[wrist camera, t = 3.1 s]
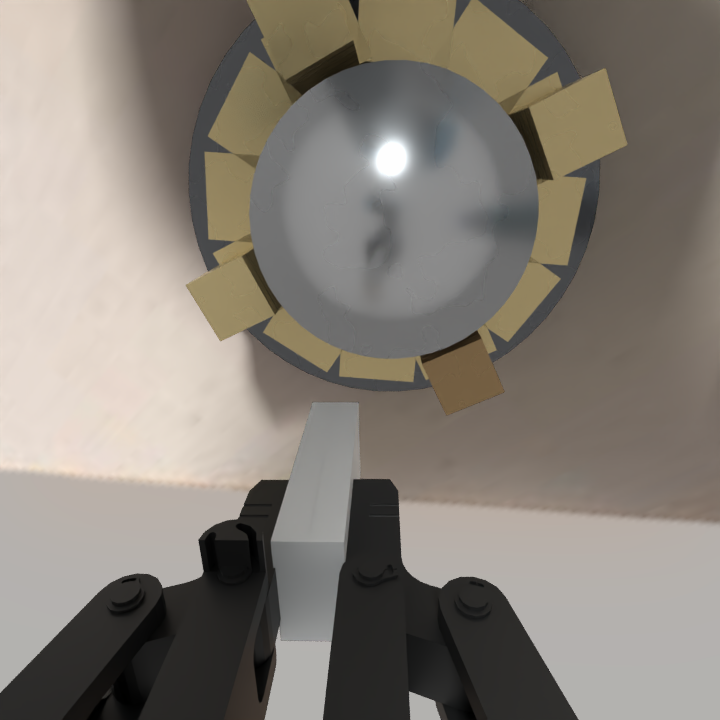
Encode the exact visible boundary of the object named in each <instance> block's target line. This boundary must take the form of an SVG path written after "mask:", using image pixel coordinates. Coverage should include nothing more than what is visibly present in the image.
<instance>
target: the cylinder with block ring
mask: <svg viewBox="0 0 720 720" xmlns="http://www.w3.org/2000/svg"><path fill="white" fill-rule="evenodd" d="M246 1H247V3H248V5H249V7H250V9H251V11H252V13H253V15H254V17H255V19H256V21H257V24H258V26H259V28H260V30H261V32H262V34H263V36H264V38H262V39H261V41H262V43H263V45H264V47H265V49H266V51H267V53H268V55H269V57H270V59H271V61H272V64H273V66H274V68H275V70H276V71H275V70H274V69H273V68H271V67H270V66H268V65H267V64H266V63H264V62H263V61H262V60H260V59H259V58H257V57H256V56H255V55H253V54H252V53H251V52H249V54H248V56H247V58H246V60H245V62H244V64H243V66H242V68H241V70H240V72H239V74H238V76H237V78H236V80H235V82H234V84H233V86H232V88H231V90H230V92H229V94H228V96H227V98H226V100H225V102H224V104H223V106H222V108H221V110H220V112H219V114H218V116H217V118H216V120H215V122H214V124H213V126H212V128H211V130H210V132H209V134H208V137H210V138H211V139H212V140H214V141H215V142H217V143H218V144H220V145H221V146H223V147H224V148H226V149H227V150H229V151H230V152H231V153H217V152H205V173H206V195H207V216H208V238H209V239H211V240H224V241H235V242H233V243H231V244H229V245H227V246H226V247H224V248H222V249H220V250H218V251H216V252H214V253H213V255H214V256H215V258H216V260H217V261H218V263H219V265H218V266H216V267H215V268H213V269H211V270H210V271H208V272H207V273H205V274H203V275H202V276H200V277H198V278H197V279H195V280H193V281H192V282H190V283H188V284H187V285H186V287H187V288H188V290H189V291H190V293H191V295H192V296H193V298H194V300H195V301H196V303H197V304H198V306H199V308H200V309H201V311H202V312H203V314H204V316H205V317H206V319H207V321H208V322H209V324H210V325H211V327H212V329H213V330H214V332H215V333H216V335H217V337H218V338H219V340H220V341H222V340H224V339H226V338H228V337H231V336H233V335H235V334H237V333H239V332H241V331H243V330H245V329H247V328H249V327H251V326H253V325H255V324H258V323H260V322H262V321H264V320H266V319H268V318H270V317H272V316H273V317H272V319H271V320H270V322H269V324H268V325H267V327H266V328H265V330H264V332H263V333H265V334H266V335H268V336H270V337H271V338H273V339H274V340H276V341H278V342H279V343H281V344H282V345H284V346H286V347H287V348H289V349H290V350H292V351H294V352H295V353H297V354H298V355H300V356H302V357H303V358H305V359H306V360H308V361H310V362H311V363H313V364H314V365H316V366H318V367H319V368H321V369H322V370H324V371H326V372H328V370H329V369H330V367H331V366H332V365H333V363H334V362H335V360H336V359H337V358H338V356H339V355H340V371H339V376H340V377H353V378H366V379H379V380H392V381H405V382H413V380H414V371H415V362H416V361H417V363H418V365H419V367H420V369H421V371H422V373H423V375H424V377H425V379H426V380H427V379H429V380H430V382H431V384H432V386H433V388H434V391H435V393H436V395H437V397H438V399H439V401H440V403H441V405H442V407H443V409H444V411H445V413H446V415H449V414H452V413H454V412H457V411H459V410H462V409H464V408H467V407H469V406H472V405H474V404H476V403H479V402H481V401H484V400H486V399H489V398H491V397H494V396H496V395H499V394H501V393H504V389H503V387H502V385H501V382H500V380H499V378H498V375H497V373H496V371H495V368H494V366H493V364H492V361H491V359H490V357H489V353H491V352H494V351H496V347H495V345H494V342H493V340H492V338H491V335H490V333H489V331H488V329H489V330H491V331H492V332H494V333H495V334H497V335H498V336H500V337H501V338H503V339H504V340H506V341H507V342H508V341H509V340H510V339H511V338H512V336H513V335H514V334H515V333H516V332H517V331H518V329H519V328H520V327H521V326H522V325H523V323H524V322H525V321H526V320H527V319H528V317H529V316H530V315H531V314H532V313H533V311H534V310H535V309H536V308H537V307H538V305H539V304H540V303H541V302H542V301H543V299H544V298H545V297H546V296H547V295H548V294H549V292H550V291H551V290H552V289H553V288H554V286H555V285H556V284H557V283H558V282H559V280H560V278H559V277H558V276H556V275H555V274H554V273H552V272H551V271H550V270H548V269H547V268H545V267H544V266H543V265H541V264H554V265H568V261H569V256H570V251H571V247H572V242H573V238H574V233H575V228H576V224H577V219H578V215H579V210H580V205H581V201H582V196H583V192H584V187H585V182H586V178H578V177H564V175H566V174H569V173H571V172H573V171H575V170H577V169H579V168H581V167H583V166H585V165H587V164H589V163H591V162H593V161H595V160H598V159H600V158H602V157H604V156H606V155H608V154H610V153H612V152H614V151H616V150H618V149H620V148H622V147H624V146H627V141H626V138H625V134H624V131H623V127H622V124H621V120H620V117H619V113H618V110H617V106H616V103H615V99H614V96H613V92H612V89H611V85H610V82H609V78H608V75H607V71H606V68H604V69H602V70H599V71H597V72H595V73H592V74H590V75H588V76H585V77H583V78H581V79H579V80H576V81H574V82H572V83H569V84H567V85H565V86H563V87H562V85H561V82H560V78H559V75H558V72H556V73H554V74H552V75H550V76H548V77H547V78H545V79H543V80H541V81H539V82H537V83H535V84H533V85H531V86H529V85H530V83H531V82H532V80H533V79H534V77H535V76H536V75H537V73H538V72H539V70H540V69H541V67H542V66H543V65H544V63H545V62H546V60H547V59H548V57H546V56H545V55H544V54H543V53H542V52H540V51H539V50H538V49H537V48H536V47H534V46H533V45H532V44H531V43H529V42H528V41H527V40H526V39H525V38H523V37H522V36H521V35H520V34H518V33H517V32H516V31H515V30H514V29H512V28H511V27H510V26H509V25H507V24H506V23H505V22H504V21H503V20H501V19H500V18H499V17H498V16H497V15H495V14H494V13H493V12H492V11H490V10H489V9H488V8H487V7H486V6H484V5H483V4H482V3H481V2H479V1H478V0H471V1H470V2H469V4H468V6H467V7H466V9H465V10H464V12H463V14H462V15H461V17H460V18H459V20H458V22H457V23H456V25H455V26H454V17H455V9H456V0H359V15H358V21H357V19H356V16H355V14H354V11H353V9H352V7H351V4H350V2H349V0H246ZM453 26H454V28H453ZM383 60H410V61H417V62H424V63H429V64H432V65H435V66H439V67H442V68H445V69H448V70H450V71H452V72H454V73H456V74H459V75H461V76H463V77H465V78H467V79H468V80H470V81H471V82H473V83H474V84H476V85H477V86H479V87H480V88H482V89H483V90H484V91H485V92H486V93H487V94H489V95H490V96H491V97H492V98H493V99H494V100H495V101H496V102H497V103H498V104H499V105H500V106H501V107H502V108H503V110H504V111H505V112H506V113H507V115H508V116H509V117H510V118H511V119H512V121H513V123H514V124H515V126H516V128H517V129H518V131H519V133H520V134H521V136H522V138H523V140H524V142H525V145H526V147H527V149H528V152H529V154H530V157H531V160H532V164H533V167H534V171H535V175H536V181H537V188H538V199H539V216H538V224H537V232H536V238H535V242H534V246H533V249H532V253H531V256H530V259H529V261H528V264H527V266H526V269H525V271H524V273H523V275H522V277H521V279H520V281H519V283H518V285H517V286H516V288H515V290H514V291H513V293H512V294H511V295H510V297H509V298H508V300H507V301H506V302H505V304H504V305H503V306H502V307H501V308H500V309H499V310H498V311H497V313H496V314H495V315H494V316H493V317H492V318H491V319H490V320H488V321H487V322H486V323H485V324H484V325H483V326H481V327H480V328H479V329H478V330H476V331H475V332H473V333H472V334H470V335H469V336H467V337H466V338H464V339H463V340H461V341H459V342H457V343H455V344H453V345H451V346H449V347H447V348H444V349H441V350H438V351H436V352H433V353H429V354H425V355H421V356H416V357H409V358H400V359H383V358H374V357H366V356H361V355H358V354H354V353H350V352H347V351H344V350H342V349H339V348H337V347H334V346H332V345H330V344H328V343H326V342H324V341H323V340H321V339H319V338H317V337H316V336H314V335H313V334H311V333H310V332H309V331H307V330H306V329H305V328H303V327H302V326H301V325H300V324H299V323H298V322H297V321H296V320H294V319H293V318H292V317H291V316H290V315H289V314H288V312H287V311H286V310H285V309H284V308H283V306H282V305H281V304H280V303H279V302H278V300H277V299H276V297H275V296H274V294H273V293H272V291H271V289H270V288H269V286H268V284H267V282H266V280H265V278H264V276H263V274H262V272H261V270H260V267H259V264H258V261H257V258H256V255H255V252H254V247H253V242H252V237H251V230H250V218H249V210H250V193H251V188H252V182H253V176H254V173H255V170H256V166H257V163H258V160H259V157H260V154H261V152H262V150H263V148H264V146H265V144H266V141H267V139H268V137H269V136H270V134H271V133H272V131H273V129H274V128H275V126H276V125H277V123H278V122H279V120H280V119H281V118H282V117H283V115H284V114H285V113H286V112H287V111H288V109H289V108H290V107H291V106H292V105H293V104H294V103H295V102H296V101H297V100H298V99H299V98H300V97H302V96H303V95H304V94H305V93H306V92H307V91H308V90H310V89H311V88H313V87H314V86H316V85H317V84H319V83H320V82H322V81H323V80H325V79H326V78H328V77H331V76H333V75H335V74H337V73H339V72H341V71H343V70H345V69H348V68H352V67H355V66H358V65H361V64H364V63H371V62H377V61H383ZM528 86H529V87H528ZM527 87H528V88H527ZM232 153H233V154H232Z"/></svg>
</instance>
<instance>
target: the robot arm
mask: <svg viewBox="0 0 720 720" xmlns="http://www.w3.org/2000/svg"><path fill="white" fill-rule="evenodd" d="M199 546H200V552H201V558H202V564H203V570H204V572H203V575H202V577H200V578H198V579H196V580H193V581H190V582H187V583H184V584H179V585H175V586H171V587H166V588H162V585H161V583H160V582H159V580H158V579H157V578H156V577H153V576H151V575H149V574H133V575H129V576H124V577H122V578H120V579H118V580H116V581H113V582H111V583H110V584H109V585H107V586H106V587H105V588H103V589H102V590H101V591H100V592H99V593H98V594H97V595H96V596H95V597H94V598H93V599H92V600H91V601H90V602H89V603H88V604H87V605H86V606H85V607H84V608H83V609H82V610H81V611H80V612H79V613H78V614H77V615H76V616H75V617H74V618H73V619H72V620H71V621H70V622H69V623H68V624H67V625H66V626H65V627H64V628H63V629H62V630H61V631H60V632H59V634H58V635H57V636H56V637H55V638H54V639H53V640H52V641H51V642H50V643H49V644H48V645H47V646H46V647H45V648H44V649H43V650H42V651H41V652H40V653H39V654H38V655H37V656H36V657H35V658H34V659H33V660H32V661H31V662H30V663H29V664H28V665H27V666H26V667H25V668H24V669H23V670H22V671H21V672H20V674H18V676H16V677H15V679H13V681H12V682H11V683H10V684H9V685H8V686H7V687H6V688H5V689H4V690H3V691H2V692H1V693H0V720H264V719H265V715H266V710H267V705H268V700H269V695H270V690H271V686H272V682H273V677H274V672H275V668H276V648H275V641H276V637H277V633H278V628H279V627H280V635H281V640H284V641H287V640H288V641H331V642H332V644H331V652H330V661H329V670H328V679H327V688H326V697H325V706H324V715H323V720H410V707H409V691H410V692H413V693H416V694H418V695H421V696H424V697H427V698H429V699H432V700H434V701H436V706H437V709H438V712H439V715H440V718H441V720H578V718H577V716H576V715H575V713H574V711H573V710H572V708H571V707H570V705H569V703H568V701H567V700H566V698H565V696H564V695H563V693H562V691H561V690H560V688H559V686H558V685H557V683H556V681H555V679H554V678H553V676H552V674H551V673H550V671H549V669H548V668H547V666H546V664H545V663H544V661H543V659H542V658H541V656H540V654H539V653H538V651H537V649H536V647H535V646H534V644H533V642H532V641H531V639H530V637H529V636H528V634H527V632H526V631H525V629H524V627H523V625H522V624H521V622H520V621H519V619H518V617H517V615H516V614H515V612H514V610H513V609H512V607H511V605H510V604H509V602H508V600H507V599H506V597H505V596H504V595H503V594H502V592H501V591H500V590H499V589H498V588H497V587H496V586H494V585H493V584H491V583H489V582H487V581H486V580H482V579H479V578H475V577H459V578H456V579H453V580H451V581H449V582H448V583H447V584H446V585H445V586H444V587H442V589H441V588H438V587H434V586H430V585H428V584H425V583H423V582H420V581H419V580H417V579H416V578H414V577H412V576H411V575H410V574H409V573H408V572H407V570H406V569H405V567H404V565H403V563H402V558H401V543H400V521H399V500H398V490H397V489H396V487H395V486H394V484H393V483H392V482H391V480H390V479H360V437H359V402H313V403H312V406H311V410H310V413H309V416H308V419H307V423H306V426H305V429H304V433H303V436H302V439H301V443H300V446H299V449H298V452H297V456H296V459H295V462H294V466H293V469H292V472H291V476H290V479H289V480H261V481H260V482H259V483H258V484H257V485H256V486H255V487H254V488H252V489H251V490H250V491H249V494H248V496H247V498H246V501H245V503H244V507H243V508H242V510H241V513H240V517H239V518H238V519H237V520H228V521H225V522H222V523H219V524H216V525H214V526H213V527H211V528H210V529H208V530H207V531H205V533H203V535H202V536H201V537H200V539H199Z"/></svg>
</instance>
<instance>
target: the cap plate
mask: <svg viewBox="0 0 720 720" xmlns="http://www.w3.org/2000/svg"><path fill="white" fill-rule="evenodd" d="M470 1H471V0H456V9H455V17H454V26H455V25H456V23H457V22H458V20H459V18H460V17H461V15H462V14H463V12H464V10H465V9H466V7H467V6H468V4H469V2H470ZM478 1H479V2H481V3H482V4H483V5H484V6H486V7H487V8H488V9H489V10H490V11H492V12H493V13H494V14H495V15H497V16H498V17H499V18H500V19H501V20H503V21H504V22H505V23H506V24H507V25H509V26H510V27H511V28H512V29H514V30H515V31H516V32H517V33H518V34H520V35H521V36H522V37H523V38H525V39H526V40H527V41H528V42H529V43H531V44H532V45H533V46H534V47H536V48H537V49H538V50H539V51H540V52H542V53H543V54H544V55H545V56H546V57H548V59H547V60H546V62H545V63H544V65H543V66H542V67H541V69H540V70H539V72H538V73H537V75H536V76H535V77H534V79H533V80H532V82H531V83H530V85H529V86H531V85H533V84H535V83H537V82H539V81H541V80H543V79H545V78H547V77H548V76H550V75H552V74H554V73H556V72H558V75H559V78H560V82H561V85H562V87H563V86H565V85H567V84H569V83H572V82H574V81H576V80H579V79H580V77H579V75H578V73H577V71H576V69H575V68H574V66H573V64H572V62H571V60H570V58H569V57H568V55H567V53H566V51H565V50H564V48H563V47H562V46H561V44H560V43H559V42H558V40H557V39H556V38H555V36H554V35H553V34H552V32H551V31H550V30H549V29H548V27H547V26H546V25H545V24H544V23H543V22H542V21H541V20H540V19H539V18H538V17H537V16H536V15H535V14H534V13H533V12H532V11H531V10H530V9H529V8H528V7H527V6H526V5H525V4H523V3H522V2H520V1H519V0H478ZM349 2H350V4H351V7H352V9H353V11H354V14H355V16H356V19H357V21H358V15H359V0H349ZM454 26H453V28H454ZM262 38H264V36H263V34H262V32H261V30H260V28H259V26H258V24H257V21H256V19H255V20H254V21H253V22H252V23H251V24H250V25H249V26H248V27H247V28H246V29H245V30H244V31H243V33H242V34H241V35H240V36H239V38H238V39H237V40H236V42H235V43H234V44H233V46H232V47H231V48H230V50H229V51H228V52H227V53H226V55H225V57H224V59H223V60H222V62H221V64H220V66H219V67H218V69H217V71H216V73H215V74H214V76H213V78H212V80H211V82H210V84H209V87H208V89H207V92H206V94H205V97H204V99H203V102H202V104H201V107H200V110H199V114H198V118H197V122H196V125H195V129H194V133H193V138H192V145H191V153H190V161H189V197H190V206H191V214H192V221H193V225H194V229H195V233H196V238H197V242H198V246H199V248H200V251H201V254H202V256H203V259H204V262H205V264H206V267H207V270H208V271H210V270H211V269H213V268H215V267H216V266H218V265H219V263H218V261H217V260H216V258H215V256H214V255H213V253H214V252H216V251H218V250H220V249H222V248H224V247H226V246H227V245H229V244H231V243H233V242H235V241H224V240H211V239H209V238H208V216H207V195H206V173H205V152H217V153H231V152H230V151H229V150H227V149H226V148H224V147H223V146H221V145H220V144H218V143H217V142H215V141H214V140H212V139H211V138H210V137H208V134H209V132H210V130H211V128H212V126H213V124H214V122H215V120H216V118H217V116H218V114H219V112H220V110H221V108H222V106H223V104H224V102H225V100H226V98H227V96H228V94H229V92H230V90H231V88H232V86H233V84H234V82H235V80H236V78H237V76H238V74H239V72H240V70H241V68H242V66H243V64H244V62H245V60H246V58H247V56H248V54H249V52H251V53H252V54H253V55H255V56H256V57H257V58H259V59H260V60H262V61H263V62H264V63H266V64H267V65H268V66H270V67H271V68H273V69H274V70H275V68H274V66H273V64H272V61H271V59H270V57H269V55H268V53H267V51H266V49H265V47H264V45H263V43H262V41H261V39H262ZM275 71H276V70H275ZM529 86H528V87H529ZM528 87H527V88H528ZM232 154H233V153H232ZM564 177H578V178H586V182H585V187H584V192H583V196H582V201H581V205H580V210H579V215H578V219H577V224H576V228H575V233H574V238H573V242H572V247H571V251H570V256H569V261H568V265H554V264H541V265H543V266H544V267H545V268H547V269H548V270H550V271H551V272H552V273H554V274H555V275H556V276H558V277H559V278H560V280H559V282H558V283H557V284H556V285H555V286H554V288H553V289H552V290H551V291H550V292H549V294H548V295H547V296H546V297H545V298H544V299H543V301H542V302H541V303H540V304H539V305H538V307H537V308H536V309H535V310H534V311H533V313H532V314H531V315H530V316H529V317H528V319H527V320H526V321H525V322H524V323H523V325H522V326H521V327H520V328H519V329H518V331H517V332H516V333H515V334H514V335H513V336H512V338H511V339H510V340H509V341H508V342H507V341H506V340H504V339H503V338H501V337H500V336H498V335H497V334H495V333H494V332H492V331H491V330H489V329H488V331H489V333H490V335H491V338H492V340H493V342H494V345H495V347H496V351H494V352H491V353H489V357H490V359H491V361H492V363H493V362H494V361H496V360H497V359H499V358H501V357H502V356H504V355H505V354H507V353H508V352H510V351H511V350H512V349H513V348H515V347H516V346H517V345H518V344H519V343H521V342H522V341H523V340H524V339H525V338H527V337H528V336H529V335H530V334H531V333H532V332H533V331H534V330H535V329H536V328H537V327H538V326H539V325H540V323H541V322H542V321H543V320H544V319H545V318H546V317H547V316H548V314H549V313H550V312H551V311H552V309H553V308H554V307H555V305H556V304H557V303H558V301H559V300H560V299H561V297H562V296H563V294H564V292H565V291H566V289H567V287H568V285H569V284H570V282H571V280H572V279H573V277H574V275H575V273H576V271H577V269H578V266H579V264H580V262H581V260H582V257H583V255H584V253H585V250H586V248H587V244H588V241H589V238H590V234H591V231H592V227H593V224H594V220H595V214H596V208H597V202H598V196H599V177H600V159H598V160H595V161H593V162H591V163H589V164H587V165H585V166H583V167H581V168H579V169H577V170H575V171H573V172H571V173H569V174H566V175H564ZM538 216H539V199H538V188H537V181H536V175H535V171H534V167H533V164H532V160H531V157H530V154H529V152H528V149H527V147H526V145H525V142H524V140H523V138H522V136H521V134H520V133H519V131H518V129H517V128H516V126H515V124H514V123H513V121H512V119H511V118H510V117H509V116H508V115H507V113H506V112H505V111H504V110H503V108H502V107H501V106H500V105H499V104H498V103H497V102H496V101H495V100H494V99H493V98H492V97H491V96H490V95H489V94H487V93H486V92H485V91H484V90H483V89H482V88H480V87H479V86H477V85H476V84H474V83H473V82H471V81H470V80H468V79H467V78H465V77H463V76H461V75H459V74H456V73H454V72H452V71H450V70H448V69H445V68H442V67H439V66H435V65H432V64H429V63H424V62H417V61H410V60H383V61H377V62H371V63H364V64H361V65H358V66H355V67H352V68H348V69H345V70H343V71H341V72H339V73H337V74H335V75H333V76H331V77H328V78H326V79H325V80H323V81H322V82H320V83H319V84H317V85H316V86H314V87H313V88H311V89H310V90H308V91H307V92H306V93H305V94H304V95H303V96H302V97H300V98H299V99H298V100H297V101H296V102H295V103H294V104H293V105H292V106H291V107H290V108H289V109H288V111H287V112H286V113H285V114H284V115H283V117H282V118H281V119H280V120H279V122H278V123H277V125H276V126H275V128H274V129H273V131H272V133H271V134H270V136H269V137H268V139H267V141H266V144H265V146H264V148H263V150H262V152H261V154H260V157H259V160H258V163H257V166H256V170H255V173H254V176H253V182H252V188H251V193H250V210H249V218H250V230H251V237H252V242H253V247H254V252H255V255H256V258H257V261H258V264H259V267H260V270H261V272H262V274H263V276H264V278H265V280H266V282H267V284H268V286H269V288H270V289H271V291H272V293H273V294H274V296H275V297H276V299H277V300H278V302H279V303H280V304H281V305H282V306H283V308H284V309H285V310H286V311H287V312H288V314H289V315H290V316H291V317H292V318H293V319H294V320H296V321H297V322H298V323H299V324H300V325H301V326H302V327H303V328H305V329H306V330H307V331H309V332H310V333H311V334H313V335H314V336H316V337H317V338H319V339H321V340H323V341H324V342H326V343H328V344H330V345H332V346H334V347H337V348H339V349H342V350H344V351H347V352H350V353H354V354H358V355H361V356H366V357H374V358H383V359H400V358H409V357H416V356H421V355H425V354H429V353H433V352H436V351H438V350H441V349H444V348H447V347H449V346H451V345H453V344H455V343H457V342H459V341H461V340H463V339H464V338H466V337H467V336H469V335H470V334H472V333H473V332H475V331H476V330H478V329H479V328H480V327H481V326H483V325H484V324H485V323H486V322H487V321H488V320H490V319H491V318H492V317H493V316H494V315H495V314H496V313H497V311H498V310H499V309H500V308H501V307H502V306H503V305H504V304H505V302H506V301H507V300H508V298H509V297H510V295H511V294H512V293H513V291H514V290H515V288H516V286H517V285H518V283H519V281H520V279H521V277H522V275H523V273H524V271H525V269H526V266H527V264H528V261H529V259H530V256H531V253H532V249H533V246H534V242H535V238H536V232H537V224H538ZM272 317H273V316H272ZM272 317H270V318H268V319H266V320H264V321H262V322H260V323H258V324H255V325H253V326H251V327H249V328H247V330H248V331H249V332H250V333H251V334H252V335H253V336H255V337H256V338H257V339H258V340H259V341H260V342H261V343H262V344H263V345H265V346H266V347H267V348H268V349H269V350H271V351H272V352H274V353H275V354H276V355H278V356H279V357H281V358H282V359H283V360H285V361H286V362H288V363H290V364H292V365H293V366H295V367H297V368H299V369H301V370H303V371H305V372H306V373H308V374H311V375H314V376H316V377H319V378H321V379H324V380H326V381H329V382H332V383H336V384H340V385H344V386H347V387H351V388H358V389H365V390H372V391H405V390H415V389H423V388H428V387H432V384H431V382H430V380H429V379H427V380H426V379H425V377H424V375H423V373H422V371H421V369H420V367H419V365H418V363H417V361H416V362H415V371H414V380H413V382H405V381H392V380H379V379H366V378H353V377H340V376H339V371H340V355H339V356H338V358H337V359H336V360H335V362H334V363H333V365H332V366H331V367H330V369H329V370H328V372H326V371H324V370H322V369H321V368H319V367H318V366H316V365H314V364H313V363H311V362H310V361H308V360H306V359H305V358H303V357H302V356H300V355H298V354H297V353H295V352H294V351H292V350H290V349H289V348H287V347H286V346H284V345H282V344H281V343H279V342H278V341H276V340H274V339H273V338H271V337H270V336H268V335H266V334H265V333H263V332H264V330H265V328H266V327H267V325H268V324H269V322H270V320H271V319H272Z"/></svg>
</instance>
